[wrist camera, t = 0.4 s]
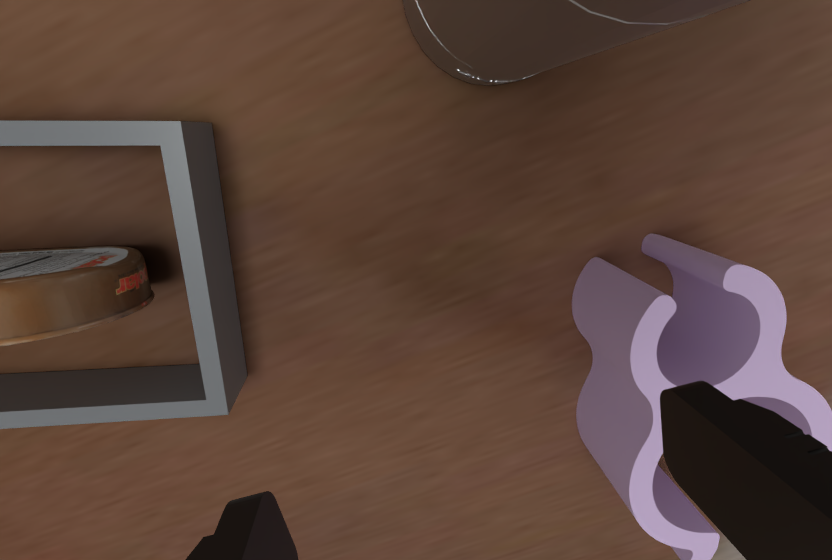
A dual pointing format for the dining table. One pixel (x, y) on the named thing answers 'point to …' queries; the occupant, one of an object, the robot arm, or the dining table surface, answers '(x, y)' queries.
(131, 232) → the dining table surface
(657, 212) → the dining table surface
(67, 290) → the tin
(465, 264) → the dining table surface
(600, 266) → the clip
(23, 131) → the bin
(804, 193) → the dining table surface
